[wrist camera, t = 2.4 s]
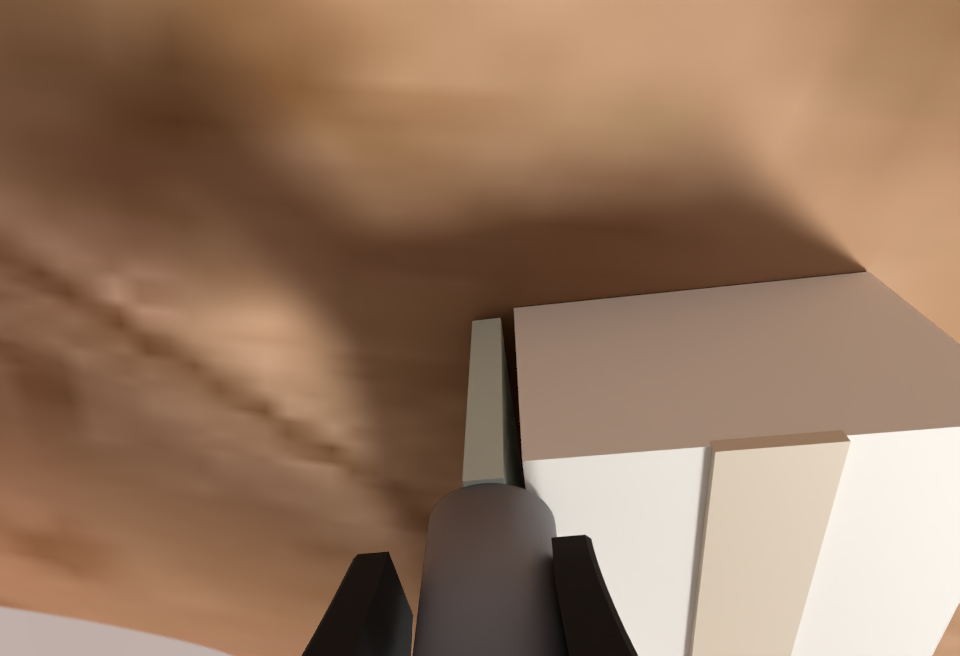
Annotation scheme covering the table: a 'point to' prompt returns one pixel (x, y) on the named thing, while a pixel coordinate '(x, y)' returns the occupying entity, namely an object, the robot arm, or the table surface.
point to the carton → (753, 463)
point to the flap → (489, 535)
